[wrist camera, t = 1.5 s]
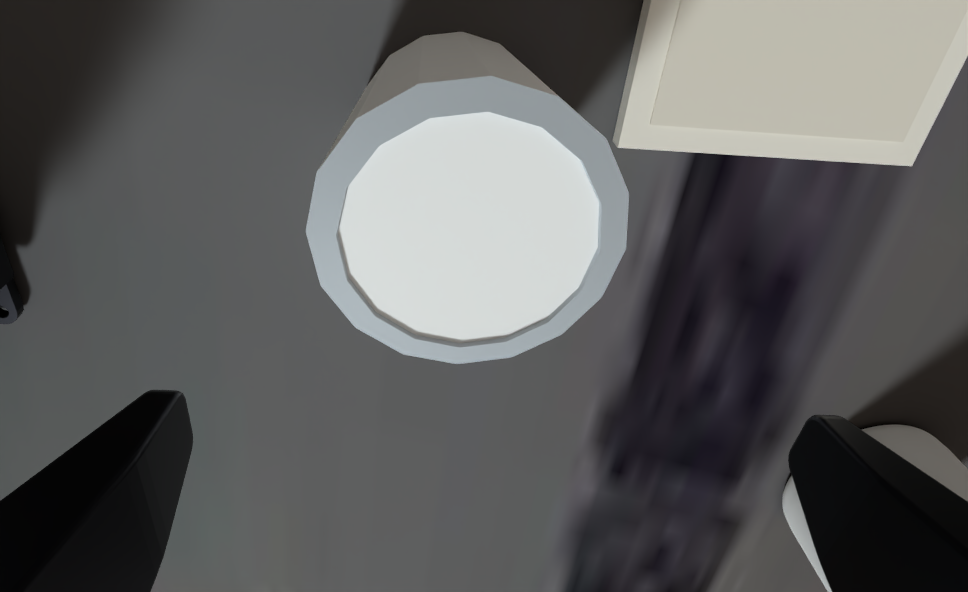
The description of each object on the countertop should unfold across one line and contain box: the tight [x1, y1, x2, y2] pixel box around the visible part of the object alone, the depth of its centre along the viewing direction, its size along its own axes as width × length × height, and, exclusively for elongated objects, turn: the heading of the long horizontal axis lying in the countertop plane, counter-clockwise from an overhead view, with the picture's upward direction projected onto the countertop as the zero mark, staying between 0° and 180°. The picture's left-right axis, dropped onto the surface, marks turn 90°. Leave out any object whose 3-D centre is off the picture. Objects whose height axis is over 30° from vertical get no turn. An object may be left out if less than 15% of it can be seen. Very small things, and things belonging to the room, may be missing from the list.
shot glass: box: [306, 32, 629, 364], centre depth 16 cm, size 7×7×7 cm
